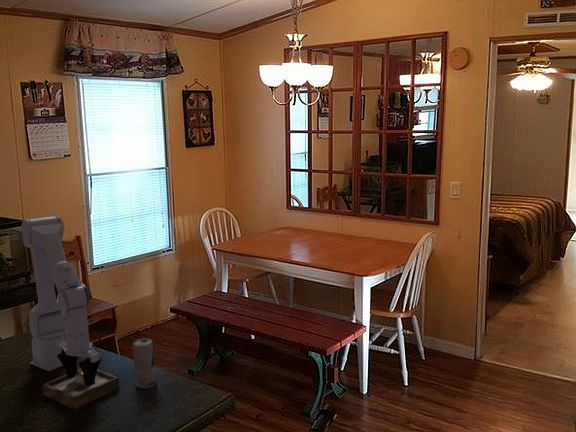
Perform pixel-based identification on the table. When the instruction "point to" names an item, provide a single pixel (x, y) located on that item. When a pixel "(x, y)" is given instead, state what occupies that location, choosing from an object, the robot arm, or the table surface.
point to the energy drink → (144, 363)
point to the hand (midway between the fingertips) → (81, 381)
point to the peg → (80, 381)
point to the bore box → (68, 396)
